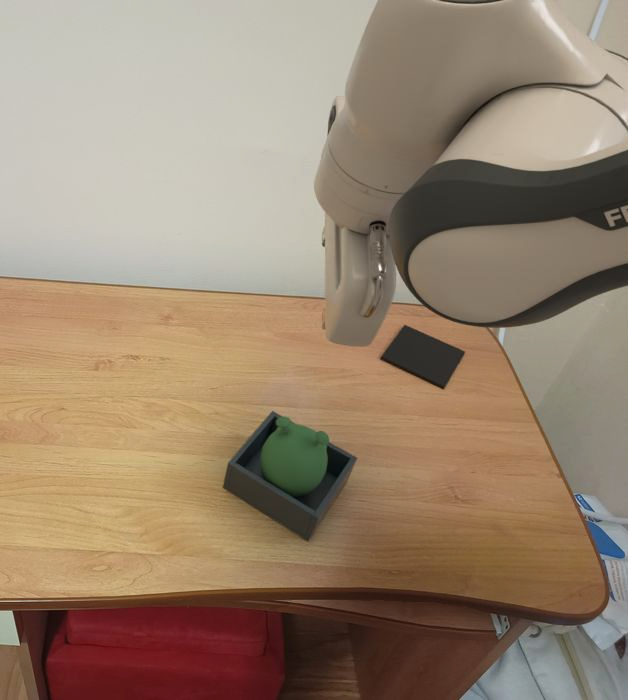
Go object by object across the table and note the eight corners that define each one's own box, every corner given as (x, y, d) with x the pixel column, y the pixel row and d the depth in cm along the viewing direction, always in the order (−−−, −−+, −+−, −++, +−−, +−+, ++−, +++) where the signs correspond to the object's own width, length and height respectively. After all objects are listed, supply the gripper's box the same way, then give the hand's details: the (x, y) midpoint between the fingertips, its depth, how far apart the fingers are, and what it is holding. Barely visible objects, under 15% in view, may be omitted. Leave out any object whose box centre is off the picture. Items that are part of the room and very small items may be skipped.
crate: (347, 481, 71) (357, 457, 68) (308, 541, 65) (318, 518, 62) (265, 435, 76) (272, 410, 73) (222, 487, 70) (227, 462, 67)
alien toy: (325, 468, 72) (348, 410, 65) (307, 521, 67) (330, 464, 60) (267, 446, 74) (283, 387, 67) (245, 495, 68) (261, 437, 62)
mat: (464, 354, 89) (465, 351, 88) (443, 389, 83) (444, 386, 83) (403, 327, 92) (404, 324, 92) (380, 359, 87) (381, 356, 87)
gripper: (430, 295, 42) (367, 383, 54) (410, 90, 52) (360, 204, 64) (336, 285, 42) (294, 375, 55) (333, 83, 52) (298, 197, 64)
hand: (330, 281), depth 59 cm, fingers open, 8 cm apart
